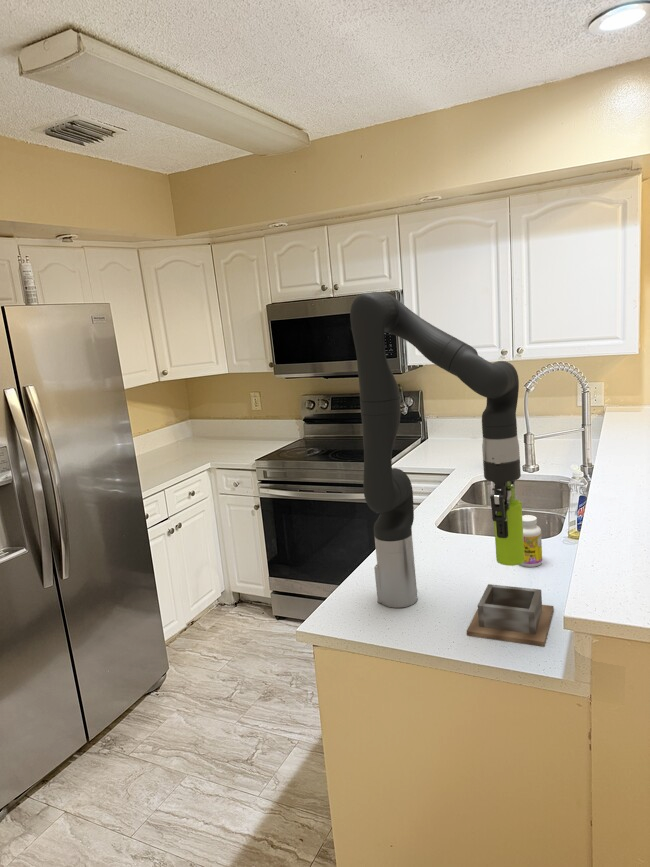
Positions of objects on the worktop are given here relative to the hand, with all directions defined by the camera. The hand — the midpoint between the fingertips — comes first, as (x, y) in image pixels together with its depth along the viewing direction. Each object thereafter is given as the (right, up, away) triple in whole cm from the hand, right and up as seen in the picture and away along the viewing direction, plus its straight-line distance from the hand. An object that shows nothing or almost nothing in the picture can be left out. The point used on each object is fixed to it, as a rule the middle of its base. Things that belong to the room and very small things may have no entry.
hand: (505, 531), depth 130 cm
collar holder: (+2, -21, +4) cm, 21 cm away
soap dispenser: (+1, -7, +1) cm, 7 cm away
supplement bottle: (+16, -14, +33) cm, 39 cm away
